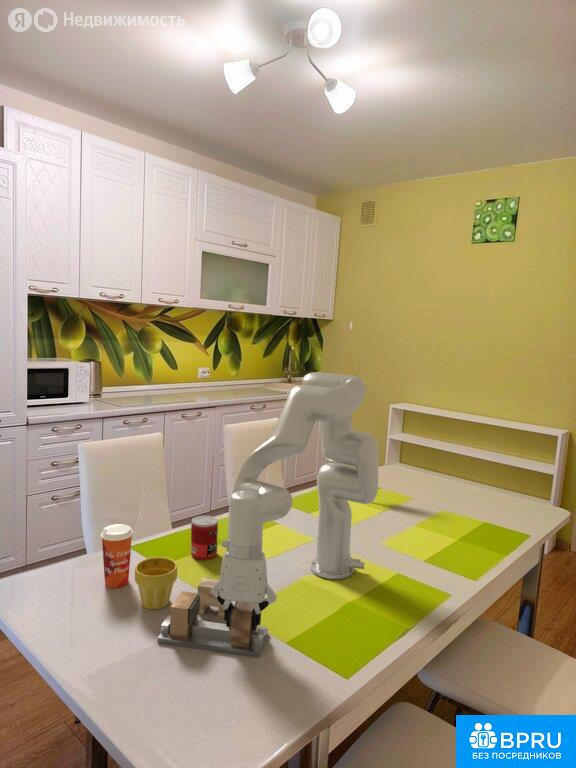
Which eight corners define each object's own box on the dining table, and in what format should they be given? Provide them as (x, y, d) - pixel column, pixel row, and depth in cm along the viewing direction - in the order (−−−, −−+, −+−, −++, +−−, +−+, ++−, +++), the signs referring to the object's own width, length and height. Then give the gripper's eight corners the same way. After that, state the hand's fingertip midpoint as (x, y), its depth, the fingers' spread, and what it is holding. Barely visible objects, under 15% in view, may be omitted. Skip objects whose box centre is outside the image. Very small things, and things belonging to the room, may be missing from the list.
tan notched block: (203, 603, 135) (203, 576, 134) (229, 606, 134) (230, 580, 133) (197, 612, 130) (197, 585, 129) (224, 616, 129) (225, 589, 128)
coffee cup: (103, 592, 138) (103, 537, 136) (98, 578, 145) (98, 525, 143) (136, 586, 141) (136, 532, 140) (130, 573, 149) (130, 521, 147)
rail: (267, 633, 123) (268, 600, 122) (259, 657, 114) (260, 621, 113) (172, 620, 127) (173, 587, 126) (157, 642, 118) (157, 607, 117)
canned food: (212, 562, 157) (213, 526, 156) (186, 558, 159) (187, 523, 158) (220, 551, 165) (221, 517, 164) (196, 548, 166) (196, 514, 165)
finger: (255, 629, 122) (256, 600, 121) (248, 647, 115) (249, 617, 115) (236, 626, 123) (237, 598, 122) (227, 644, 116) (228, 614, 115)
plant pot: (178, 611, 131) (179, 573, 129) (134, 616, 128) (135, 577, 126) (175, 590, 140) (175, 555, 139) (134, 594, 137) (134, 558, 136)
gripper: (202, 550, 114) (200, 629, 117) (280, 559, 112) (276, 640, 114) (212, 537, 122) (210, 611, 124) (286, 545, 119) (282, 621, 121)
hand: (242, 624), depth 119 cm, fingers open, 5 cm apart
